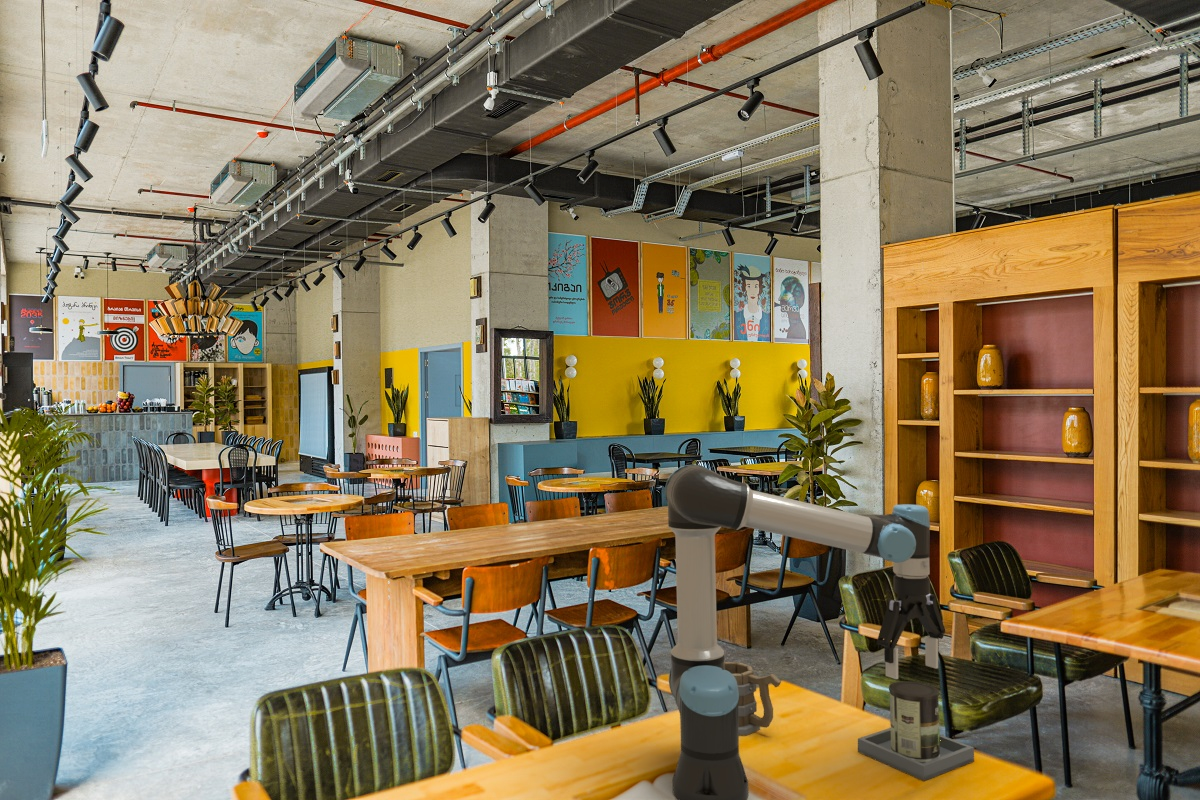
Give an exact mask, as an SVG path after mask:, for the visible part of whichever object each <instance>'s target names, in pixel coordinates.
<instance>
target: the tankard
mask: <svg viewBox="0 0 1200 800" xmlns="http://www.w3.org/2000/svg"><path fill="white" fill-rule="evenodd" d="M724 662H725V670H727V671H729V672H730V673H731V674H732V675H733V676H734V677H735V679H736V681H737V686H738V691H739V700H738V724H739V735H746V736H748V734H749V735H751V734H753V733H754V732H755V733H756V732H758V731H759V730H761V728H764V729H765V728H769V727H770V725H771V722H772V721H773V719H774V707H773V703H772V700H771V696H770V688H769V684H771V685H772V686H774V688H778V687H780V686H781V683H782V681H781V680H780V678H778V677H777V675H775V674H774V673H771V674H768V675H764V676H757V675H754V670H753V667H752V666H751V665H749V664H746V663H742V662H739V661H738V662H737V661H724ZM757 685H758V688H759V689H758V691H759V698H760V701H761V704H762V708H763V715H762V717H761V716H758V715H757V714H755V713H757V710H758V709H757V705H758V703H757V701H756V698H755V695H754V693H756V692H757ZM757 730H758V731H757ZM750 733H751V734H750Z"/></svg>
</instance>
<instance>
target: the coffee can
mask: <svg viewBox="0 0 1200 800" xmlns="http://www.w3.org/2000/svg"><path fill="white" fill-rule="evenodd" d="M888 690H889V716H890V717H889V718H890V721H889V723H890V728H891V750H892V751H894V752H896V753H899V754H901V755H904V756H906V757H908V758H911V759H913V760H915V761H918V762H928V761H931V760H933V759H936V758H939V757H940V743H939V734H940V717H939V716H940V713H939V709H940V707H939V706H940V704H939V695H940V692H939V689H938V688H937V687H936V686H933V685H930V684H928V683H923V682H920V681H911V680H909V681H907V680H905V681H902V680H901V681H895V682H892V683H890V684H889V685H888Z"/></svg>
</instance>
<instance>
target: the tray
mask: <svg viewBox="0 0 1200 800" xmlns="http://www.w3.org/2000/svg"><path fill="white" fill-rule="evenodd" d="M940 740H941V741H940ZM939 743H940V757H939V758H936V759H933V760H931V761H928V762H918V761H915V760H913V759H911V758H908V757H906V756H904V755H901V754H899V753H896V752H894V751H892V750H891V727H889V728H886V729H883V730H879V731H876V732H874V733H871V734H867V735H865V736H861V737H858V738H857V753H859V754H862V755H864V756H866V757H868V758H870V757H871V758H870V759H873V760H875V759H876V760H875V761H877V760H878V761H877V762H879V761H880V762H879V763H882V764H884V765H887V766H888V765H889V766H888V767H890V768H894V769H896V770H897V771H900V772H901V773H904V772H905V774H907V773H908V774H907V775H909V774H910V775H909V776H911V775H912V776H911V777H913V776H914V778H916V779H918V780H920V779H921V781H922V780H923V782H925V780H926V781H928V780H931V779H934V778H936V777H938V776H941V775H943V774H946V773H949V772H951V771H953V770H956V769H959V768H961V767H964V766H966V765H969V764H972V763H973V762H975V747H973V746H971V745H969V744H965V743H963V742H960V741H958V740H955V739H953V738H950V737H947V736H944V735H942V734H940V733H939Z"/></svg>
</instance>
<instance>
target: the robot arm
mask: <svg viewBox="0 0 1200 800" xmlns="http://www.w3.org/2000/svg"><path fill="white" fill-rule="evenodd" d="M664 497H665V501H666V502H667V517H668V518H667V521H668V522H667V523H668V524H667V525H668V527H667V528H668V529H669V530H670V531H671V532H672V533H673V534H674V536H675V538H674V539H675V570H676V571H675V573H676V574H675V575H676V576H675V579H676V581H675V582H676V612H677V613H676V615H677V616H676V617H677V618H676V620H677V623H676V624H677V628H676V629H677V643H676V644H675V645H674V646H673V647H672V648H671V650H670V665H671V666H670V669H669V675H668V683H669V684H668V685H669V689H670V693H671V696H672V697H673V699H674V701H675V703H676V706H677V709H678V713H679V719H680V720H679V721H680V722H679V723H680V724H679V725H680V728H679V729H680V753H679V756H678V760H677V765H676V768H675V772H674V773H673V777H672V793H673V795H674V797H676V799H678V800H747V799H748V798H749V780H748V778H747V775H746V771H745V767H744V764H743V762H742V759H741V756H740V747H739V746H740V745H739V744H740V743H739V742H740V741H739V740H740V739H739V737H740V736H739V724H738V700H739V691H738V686H737V681H736V679H735V677H734V676H733V675H732V674H731V673H730V672H729V671H727V670H725V662H726V661H725V650H724V649H723V648H722V647H721V646H720V645H719V644H718V631H717V629H718V627H717V625H718V623H717V587H716V586H717V582H716V580H717V579H716V578H717V577H716V575H717V574H716V541H715V540H716V539H715V537H716V534H717V533H718V531H720V529H721V528H725V529H730V530H731V529H732V530H735V531H738V530H740V529H742V528H744V527H745V528H749V529H755V530H758V531H763V532H767V533H772V534H776V535H781V536H784V537H785V536H786V537H788V538H789V537H790V538H794V539H798V540H803V541H807V542H812V543H817V544H821V545H824V546H829V547H832V548H839V549H842V550H843V549H844V550H848V551H851V552H856V553H861V554H864V555H868V556H871V557H877V558H881V559H883V560H885V561H886V562H887V561H888V562H891V563H892V571H893V573H894V576H893V592H894V593H896V594H897V598H896V600H893V599H887V600H886V608H885V609H886V610H885V614H884V617H883V620H882V624H881V627H880V629H879V633H878V636H877V640H876V643H877V645H880V646H883V648H884V651H883V653H884V661H885V677H888V678H891V679H893V680H899V648H898V647H896V646H897V644H898V642H899V640H900V638H901V636H902V634H903V631H904V630H905V627H906V626H907V624H908V623H910V622H911V620H914V619H918V621H919V622H920V624H921V626H922V627H923V629H924V630H925V632H926V634H927V636H926V635H925V637H924V639H925V640H924V641H925V643H924V644H925V647H924V649H925V651H924V652H925V653H924V654H925V663H924V665H925V666H926V667H929V668H933V669H939V648H940V647H939V639H940V640H942V639H943V638H944V634H945V633H946V628H945V625H944V622H943V619H942V617H941V613H940V611H939V607H938V605H937V596H936V594H932V593H931V579H930V577H929V575H930V574H931V573H930V572H931V571H930V532H931V531H930V529H931V526H930V524H931V523H930V513H929V512H930V511H929V509H928V508H927V507H926V506H923V505H919V504H905V503H904V504H903V503H902V504H895V505H893V507H892V511H891V513H888V514H857V513H852V512H847V511H843V510H841V509H840V510H839V509H834V508H831V507H826V506H821V505H818V504H814V503H809V502H805V501H800V500H796V499H792V498H789V497H783V496H779V495H774V494H770V493H766V492H761V491H757V490H753V489H751V488H750V486H749V484H748V483H746V482H741V481H737V480H735V479H734V480H733V479H730V478H728V477H725V476H723V475H721V474H720V473H717V472H715V471H713V470H711V469H709V468H707V467H705V466H704V465H700V464H686V465H683V466H680V467H678V468H677V469H675V470H673V472H672V473H671V474H670V475H669V477H668V478H667V480H666V483H665V487H664Z"/></svg>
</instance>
